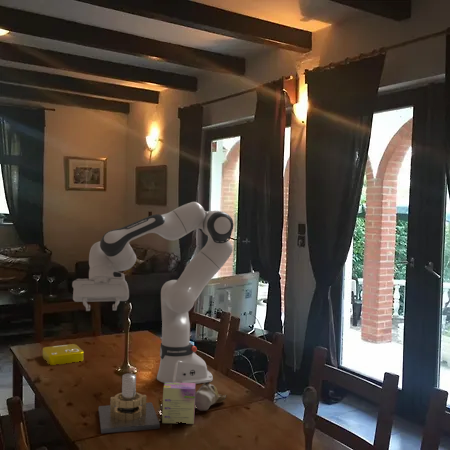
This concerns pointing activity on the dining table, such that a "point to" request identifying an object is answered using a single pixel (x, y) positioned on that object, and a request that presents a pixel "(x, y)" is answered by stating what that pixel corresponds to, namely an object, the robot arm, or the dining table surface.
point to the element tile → (63, 354)
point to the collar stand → (128, 415)
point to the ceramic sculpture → (207, 396)
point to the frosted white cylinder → (128, 390)
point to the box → (178, 403)
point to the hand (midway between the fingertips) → (101, 309)
